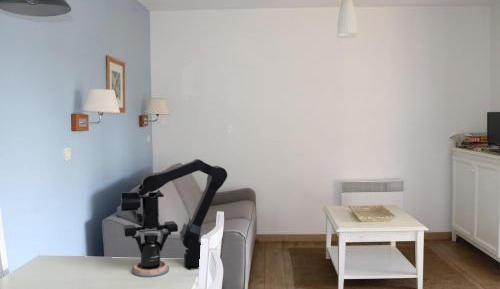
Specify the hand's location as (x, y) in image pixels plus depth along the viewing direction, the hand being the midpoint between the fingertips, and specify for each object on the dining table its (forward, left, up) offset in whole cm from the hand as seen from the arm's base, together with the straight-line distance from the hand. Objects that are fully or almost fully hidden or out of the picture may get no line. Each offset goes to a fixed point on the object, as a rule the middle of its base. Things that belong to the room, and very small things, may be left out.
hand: (151, 251), depth 156 cm
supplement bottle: (0, 0, -6) cm, 6 cm away
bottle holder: (0, 0, -7) cm, 7 cm away
